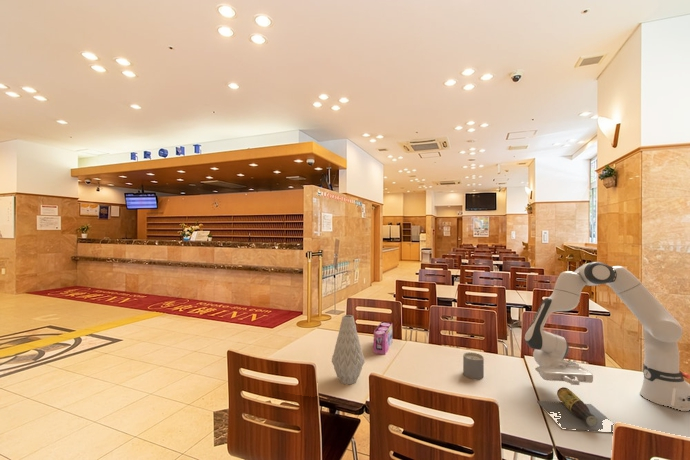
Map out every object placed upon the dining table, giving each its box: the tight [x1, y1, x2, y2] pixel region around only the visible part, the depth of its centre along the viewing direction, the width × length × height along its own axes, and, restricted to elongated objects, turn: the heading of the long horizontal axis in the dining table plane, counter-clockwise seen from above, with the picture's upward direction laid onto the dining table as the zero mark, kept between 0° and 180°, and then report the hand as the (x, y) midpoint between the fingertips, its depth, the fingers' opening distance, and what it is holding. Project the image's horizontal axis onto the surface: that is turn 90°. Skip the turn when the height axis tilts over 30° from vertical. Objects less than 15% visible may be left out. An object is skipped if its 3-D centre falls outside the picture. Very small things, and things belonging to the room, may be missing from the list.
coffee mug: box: [462, 351, 485, 380], centre depth 165 cm, size 13×10×10 cm
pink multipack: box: [372, 321, 393, 355], centre depth 201 cm, size 24×8×14 cm, turn 160°
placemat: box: [536, 400, 615, 432], centre depth 127 cm, size 22×19×1 cm
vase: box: [331, 314, 365, 385], centre depth 158 cm, size 17×17×33 cm
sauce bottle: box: [556, 386, 598, 426], centre depth 128 cm, size 6×6×20 cm
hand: (575, 383), depth 129 cm, fingers closed
